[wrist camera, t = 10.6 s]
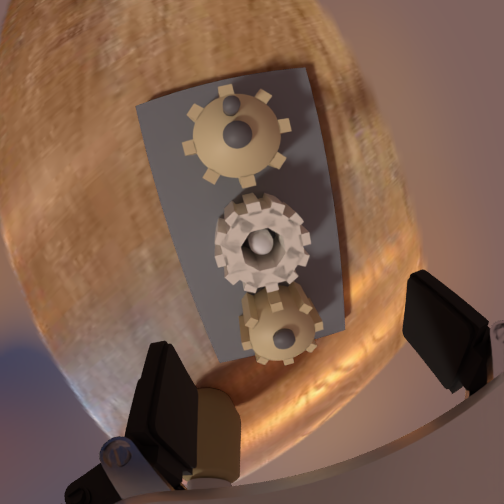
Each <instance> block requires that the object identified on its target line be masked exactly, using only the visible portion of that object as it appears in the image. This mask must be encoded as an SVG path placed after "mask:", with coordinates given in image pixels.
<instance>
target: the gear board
mask: <svg viewBox="0 0 504 504" xmlns="http://www.w3.org/2000/svg"><path fill="white" fill-rule="evenodd" d="M136 110H137V115H138V119H139V123H140V128H141V132H142V136H143V140H144V144H145V148H146V152H147V156H148V160H149V163H150V167H151V171H152V174H153V178H154V182H155V185H156V189H157V192H158V195H159V199H160V202H161V205H162V209H163V212H164V215H165V218H166V221H167V225H168V228H169V231H170V234H171V237H172V240H173V243H174V246H175V249H176V252H177V255H178V258H179V261H180V263H181V266H182V269H183V272H184V275H185V277H186V280H187V283H188V286H189V288H190V291H191V294H192V296H193V299H194V301H195V304H196V307H197V309H198V312H199V314H200V317H201V319H202V322H203V324H204V327H205V329H206V332H207V334H208V337H209V339H210V341H211V344H212V346H213V348H214V351H215V353H216V355H217V358H218V360H219V362H220V363H221V362H226V361H231V360H236V359H240V358H245V357H249V356H254V355H255V356H256V362H258V363H261V364H263V365H265V364H266V363H267V362H268V361H269V360H274V361H281V360H283V362H284V365H288V364H292V363H294V360H293V357H296V356H297V355H299V354H301V353H302V352H304V351H305V350H306V351H308V352H312V351H313V350H314V349H315V348H316V347H317V344H316V342H315V340H314V339H318V338H321V337H324V336H327V335H330V334H334V333H337V332H340V331H343V330H345V316H344V297H343V283H342V270H341V259H340V249H339V240H338V232H337V223H336V216H335V208H334V201H333V195H332V188H331V182H330V176H329V170H328V165H327V159H326V154H325V149H324V144H323V139H322V134H321V129H320V124H319V120H318V116H317V111H316V107H315V103H314V99H313V95H312V91H311V87H310V83H309V79H308V76H307V72H306V68H294V69H285V70H277V71H270V72H263V73H256V74H251V75H245V76H240V77H234V78H230V79H225V80H220V81H216V82H212V83H208V84H204V85H200V86H196V87H192V88H189V89H185V90H182V91H179V92H175V93H172V94H169V95H166V96H163V97H160V98H157V99H154V100H151V101H148V102H145V103H143V104H140V105H137V106H136ZM249 193H254V195H255V196H256V197H257V199H259V198H263V195H264V193H267V194H270V195H273V196H275V197H276V198H278V199H279V200H280V201H281V202H282V203H283V202H285V203H286V204H287V205H288V206H289V207H291V208H292V209H293V210H294V211H295V212H296V213H297V214H298V215H299V216H300V217H301V218H302V220H303V221H304V222H303V223H302V224H301V225H302V226H303V227H304V228H305V229H306V230H307V231H308V232H309V234H310V240H311V244H309V245H305V246H303V248H304V249H305V250H306V251H307V253H308V254H309V255H310V256H309V259H308V262H307V264H306V267H305V266H301V265H297V267H296V268H295V271H296V273H297V274H298V277H297V278H296V279H295V280H294V281H293V282H292V283H290V284H289V283H288V282H287V281H283V282H279V283H278V287H279V290H276V291H272V292H268V293H267V290H266V287H265V286H264V287H260V288H257V290H256V293H253V292H248V291H244V288H243V282H242V281H241V280H239V281H238V282H237V283H235V284H234V285H232V284H231V283H230V282H229V281H228V280H227V279H226V278H225V277H224V266H223V267H219V268H218V266H217V263H216V259H215V244H214V243H215V231H216V225H217V222H218V218H222V219H224V208H225V207H226V206H227V205H228V204H229V203H230V202H231V201H233V202H234V203H235V204H239V203H243V202H244V201H243V197H242V195H245V194H249ZM275 236H276V234H275V232H274V231H273V230H271V229H269V228H265V229H261V230H257V231H253V232H250V233H249V235H248V236H247V238H246V239H245V241H244V243H243V244H242V245H243V246H245V247H247V248H249V249H250V250H252V251H253V252H254V253H256V254H258V255H265V254H267V253H269V252H270V251H271V249H272V247H273V239H274V238H275Z"/></svg>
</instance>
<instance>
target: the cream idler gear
mask: <svg viewBox="0 0 504 504" xmlns="http://www.w3.org/2000/svg"><path fill="white" fill-rule="evenodd" d="M242 197H243V201H244V202H243V203H239V204H235V203H234V202H233V201H231V202H230V203H229V204H228V205H227V206H226V207H225V208H224V219H222V218H218V222H217V225H216V231H215V243H214V244H215V259H216V263H217V266H218V268H219V267H223V266H224V277H225V278H226V279H227V280H228V281H229V282H230V283H231V284H232V285H234V284H235V283H237V282H238V281H239V280H241V281H242V282H243V288H244V291H248V292H253V293H256V290H257V288H260V287H264V286H265V287H266V290H267V293H268V292H272V291H276V290H279V287H278V283H279V282H283V281H287V282H288V283H289V284H290V283H292V282H293V281H294V280H295V279H296V278H297V277H298V274H297V273H296V271H295V268H296V267H297V265H301V266H305V267H306V264H307V262H308V259H309V256H310V255H309V254H308V253H307V251H306V250H305V249H304V248H303V246H305V245H309V244H311V240H310V234H309V232H308V231H307V230H306V229H305V228H304V227H303V226H302V225H301V224H302V223H303V222H304V221H303V220H302V218H301V217H300V216H299V215H298V214H297V213H296V212H295V211H294V210H293V209H292V208H291V207H289V206H288V205H287V204H286V203H285V202H283V203H282V202H281V201H280V200H279V199H278V198H276V197H275V196H273V195H270V194H267V193H264V195H263V198H259V199H257V197H256V196H255V195H254V193H249V194H245V195H242ZM265 228H269V229H271V230H273V231H274V232H275V234H276V236H275V238H274V239H273V247H272V249H271V251H270V252H269V253H267V254H265V255H258V254H256V253H254V252H253V251H252V250H250V249H249V248H247V247H245V246H243V245H242V244H243V243H244V241H245V239H246V238H247V236H248V235H249V233H250V232H253V231H257V230H261V229H265Z"/></svg>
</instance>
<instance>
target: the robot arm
mask: <svg viewBox="0 0 504 504" xmlns="http://www.w3.org/2000/svg"><path fill="white" fill-rule="evenodd" d="M488 323H489V321H488V320H487V319H486V318H484V317H483V316H482V315H481V314H480V313H479V312H477V311H476V310H475V309H474V308H473V307H472V306H470V305H469V304H468V303H467V302H465V301H464V300H463V299H462V298H460V297H459V296H458V295H457V294H456V293H454V292H453V291H452V290H450V289H449V288H448V287H447V286H445V285H444V284H443V283H442V282H440V281H439V280H438V279H436V278H435V277H434V276H432V275H431V274H430V273H428V272H427V271H426V270H420V271H417V272H415V273H412V274H411V275H410V278H409V279H408V281H407V293H406V303H405V313H404V321H403V329H402V331H403V335H404V337H405V338H406V340H407V341H408V342H409V343H410V344H411V346H412V347H413V348H414V349H415V350H416V352H417V353H418V354H419V355H420V357H421V358H422V359H423V360H424V362H425V363H426V364H427V366H428V367H429V368H430V369H431V371H432V372H433V373H434V374H435V376H436V377H437V378H438V380H439V381H440V382H441V384H442V385H443V386H444V387H445V388H446V389H449V390H450V391H451V392H452V394H453V393H454V392H456V391H457V390H459V389H460V388H462V386H464V387H465V389H466V392H465V400H464V401H463V402H461V403H460V404H458V405H457V406H455V407H454V408H452V409H451V410H449V411H448V412H446V413H444V414H443V415H441V416H439V417H438V418H436V419H435V420H433V421H431V422H429V423H428V424H426V425H424V426H423V427H420V428H419V429H417V430H415V431H413V432H411V433H409V434H407V435H405V436H403V437H401V438H399V439H397V440H395V441H393V442H391V443H389V444H386V445H384V446H382V447H379V448H377V449H375V450H372V451H370V452H367V453H365V454H363V455H360V456H357V457H355V458H352V459H349V460H346V461H343V462H340V463H337V464H334V465H331V466H328V467H325V468H321V469H318V470H314V471H311V472H307V473H303V474H299V475H295V476H291V477H287V478H281V479H277V480H271V481H266V482H260V483H253V484H247V485H239V486H231V487H221V488H209V489H192V490H188V489H187V488H186V487H185V486H184V485H183V484H182V483H181V482H182V478H183V476H184V475H193V468H196V467H197V426H198V391H197V388H196V386H195V385H194V383H193V381H192V379H191V378H190V376H189V374H188V372H187V371H186V369H185V367H184V365H183V363H182V362H181V360H180V358H179V356H178V354H177V352H176V351H175V349H174V347H173V345H172V344H168V343H167V342H166V341H161V342H155V343H151V344H150V346H149V350H148V353H147V357H146V360H145V364H144V368H143V371H142V375H141V378H140V379H139V380H138V383H137V386H136V390H135V394H134V398H133V402H132V406H131V410H130V414H129V418H128V423H127V427H126V432H125V436H124V437H121V436H118V437H113V438H111V439H109V440H108V441H107V442H106V443H104V445H103V446H102V447H101V450H100V453H99V459H100V462H101V463H100V464H98V465H97V466H96V467H94V468H93V469H91V470H90V471H89V472H87V473H86V474H84V475H83V476H81V477H80V478H78V479H77V480H75V481H74V482H72V483H71V484H70V485H69V486H68V487H67V489H66V491H65V502H66V504H504V320H502V321H497V322H495V323H494V324H493V325H492V326H491V328H489V327H488Z"/></svg>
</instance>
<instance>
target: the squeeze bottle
mask: <svg viewBox="0 0 504 504" xmlns="http://www.w3.org/2000/svg"><path fill="white" fill-rule="evenodd" d="M197 391H198V426H197V467H196V468H193V475H184V476H183V479H184V480H186V481H187V482H188V483H187V489H188V490H192V489H209V488H221V487H231V486H232V485H231V483H233V482H234V481H236V480H237V479H238V478H239V477H240V444H241V419H240V415H239V414H238V412H237V410H236V408H235V406H234V404H233V402H232V401H231V399H230V397H229V396H228V395H227V394H226V393H225V392H223V391H220V390H218V389H212V388H200V389H197Z"/></svg>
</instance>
